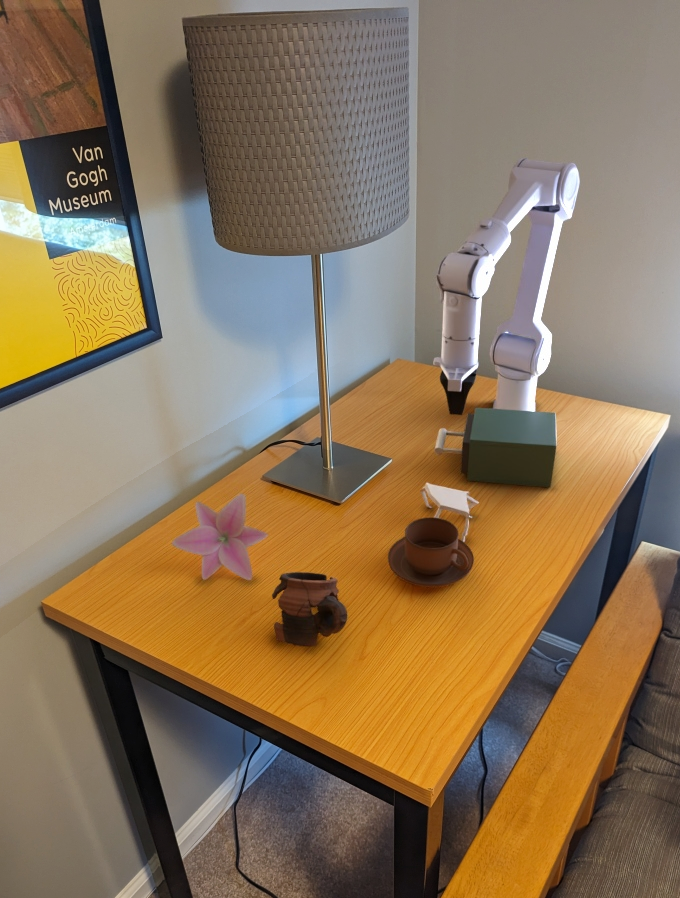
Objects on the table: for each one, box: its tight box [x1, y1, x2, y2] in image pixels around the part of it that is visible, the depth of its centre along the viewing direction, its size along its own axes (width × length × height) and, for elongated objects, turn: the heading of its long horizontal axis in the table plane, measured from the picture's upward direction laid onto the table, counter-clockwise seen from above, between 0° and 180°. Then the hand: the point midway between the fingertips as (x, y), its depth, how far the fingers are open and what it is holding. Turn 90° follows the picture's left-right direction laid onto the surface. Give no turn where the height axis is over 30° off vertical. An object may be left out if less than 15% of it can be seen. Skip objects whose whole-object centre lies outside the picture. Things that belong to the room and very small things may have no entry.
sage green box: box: [466, 407, 558, 488], centre depth 125 cm, size 14×12×8 cm
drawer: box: [433, 412, 474, 475], centre depth 125 cm, size 17×10×6 cm, turn 79°
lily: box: [171, 493, 269, 581], centre depth 105 cm, size 12×12×10 cm
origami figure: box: [419, 482, 480, 543], centre depth 113 cm, size 12×8×5 cm
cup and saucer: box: [387, 516, 475, 588], centre depth 103 cm, size 12×12×6 cm
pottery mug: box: [271, 571, 348, 647], centre depth 95 cm, size 12×10×8 cm
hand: (456, 413), depth 123 cm, fingers closed
